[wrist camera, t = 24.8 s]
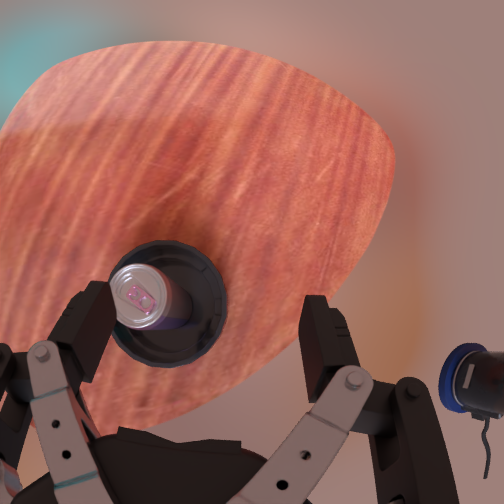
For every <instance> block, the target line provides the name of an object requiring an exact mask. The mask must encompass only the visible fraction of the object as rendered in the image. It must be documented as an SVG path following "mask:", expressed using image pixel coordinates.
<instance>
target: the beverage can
mask: <svg viewBox="0 0 504 504" xmlns="http://www.w3.org/2000/svg"><path fill="white" fill-rule="evenodd" d="M110 287H111V291H112V295H113V299H114V303H115V306H116V310H117V320H118V321H119V322H121V323H122V324H124V325H125V326H127V327H129V328H131V329H135V330H167V329H176V328H179V327H181V326H183V325H184V324H185V323H186V322H187V321H188V319H189V318H190V316H191V313H192V301H191V298H190V296H189V294H188V293H187V291H186V290H185V289H183V288H182V287H181V286H179V285H178V284H177V283H175V282H174V281H173V280H172V279H170V278H169V277H168V276H166V275H165V274H164V273H162V272H161V271H160V270H159V269H157V268H155V267H153V266H151V265H148V264H130V265H127V266H125V267H123V268H122V269H120V270H119V271H118V272H117V273H116V274H115V275H114V276H113V278H112V280H111V282H110Z"/></svg>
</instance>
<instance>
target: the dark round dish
mask: <svg viewBox="0 0 504 504" xmlns="http://www.w3.org/2000/svg"><path fill="white" fill-rule="evenodd" d="M130 264H148V265H151V266H153V267H155V268H157V269H159V270H160V271H161V272H162V273H164V274H165V275H166V276H168V277H169V278H170V279H172V280H173V281H174V282H175V283H177V284H178V285H179V286H181V287H182V288H183V289H185V290H186V291H187V293H188V294H189V296H190V298H191V301H192V313H191V316H190V318H189V319H188V321H187V322H186V323H185V324H184V325H183V326H181V327H179V328H176V329H167V330H135V329H131V328H129V327H127V326H125V325H124V324H122V323H121V322H119V321H118V320H117V319H116V324H115V326H114V328H113V331H112V333H111V334H112V336H113V338H114V339H115V341H116V343H117V344H118V346H119V347H120V348H121V349H122V350H124V351H125V352H126V353H127V354H128V355H129V356H130V357H131V358H133V359H134V360H137V361H139V362H141V363H144V364H146V365H148V366H151V367H160V368H175V367H179V366H182V365H186V364H190V363H192V362H193V361H195V360H196V359H198V358H199V357H201V356H202V355H204V354H205V353H207V352H208V351H209V350H210V349H211V348H212V347H213V345H214V344H215V343H216V341H217V340H218V339H219V338H220V336H221V334H222V332H223V329H224V327H225V324H226V321H227V317H228V297H227V294H226V290H225V287H224V284H223V280H222V277H221V275H220V273H219V272H218V270H217V269H216V268H215V266H214V265H213V263H212V262H211V260H210V259H209V258H208V257H206V256H205V255H204V254H202V253H201V252H200V251H198V250H197V249H196V248H194V247H193V246H190V245H187V244H184V243H181V242H178V241H170V240H157V241H153V242H149V243H146V244H143V245H140V246H138V247H136V248H135V249H133V250H132V251H130V252H129V253H128V254H126V255H125V256H123V257H122V259H121V260H120V261H119V262H118V264H117V265H116V266H115V268H114V269H113V270H112V272H111V274H110V277H109V279H108V283H109V284H110V282H111V280H112V278H113V276H114V275H115V274H116V273H117V272H118V271H119V270H120V269H122V268H123V267H125V266H127V265H130Z"/></svg>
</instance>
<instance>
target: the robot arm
mask: <svg viewBox="0 0 504 504" xmlns="http://www.w3.org/2000/svg"><path fill="white" fill-rule="evenodd" d="M116 319H117V310H116V306H115V303H114V299H113V295H112V291H111V287H110V284H109V283H108V282H103V281H90V283H89V284H88V286H87V287H86V289H85V291H84V292H83V291H80V292H79V293H78V294H76V295H75V296H74V297H73V298H72V299H71V300H70V302H69V303H68V305H67V307H66V309H65V310H64V311H63V313H62V316H60V318H59V320H58V321H57V323H56V325H55V327H54V328H53V330H52V332H51V333H50V335H49V337H48V339H47V340H44V341H39V342H37V343H35V344H34V345H33V346H32V347H31V348H30V349H29V351H28V352H18V353H13V352H12V350H11V349H10V347H9V346H8V345H7V344H4V343H0V401H1V399H2V396H3V394H4V392H5V391H6V392H7V393H8V394H7V396H6V399H5V401H4V404H3V406H2V409H1V412H0V504H312V503H311V502H310V501H309V500H308V499H307V497H308V496H309V494H310V493H311V491H312V490H313V489H314V487H315V486H316V485H317V483H318V482H319V480H320V479H321V478H322V476H323V475H324V473H325V472H326V470H327V469H328V467H329V466H330V464H331V463H332V461H333V459H334V458H335V456H336V455H337V453H338V451H339V450H340V448H341V447H342V445H343V443H344V442H345V440H346V438H347V437H348V435H349V431H354V432H359V433H364V434H368V437H369V443H370V449H371V456H372V462H373V469H374V476H375V484H376V492H377V500H378V504H459V499H458V494H457V490H456V485H455V481H454V476H453V472H452V468H451V464H450V460H449V456H448V452H447V449H446V445H445V441H444V438H443V434H442V431H441V428H440V424H439V421H438V418H437V415H436V411H435V408H434V405H433V402H432V399H431V396H430V393H429V391H428V388H427V387H426V385H425V384H424V383H423V382H422V381H420V380H419V379H417V378H414V377H404V378H402V379H400V380H399V381H398V383H397V384H396V385H395V384H390V383H385V382H380V381H376V380H373V379H372V377H371V375H370V374H369V373H368V372H367V371H366V370H365V369H363V368H361V366H360V363H359V360H358V357H357V354H356V351H355V347H354V344H353V341H352V338H351V337H350V332H349V329H348V326H347V323H346V320H345V317H344V316H343V315H342V314H341V312H340V311H339V310H338V309H337V308H329V306H328V303H327V300H326V297H325V295H306V296H305V299H304V304H303V308H302V313H301V317H300V321H299V330H298V333H299V342H300V348H301V354H302V360H303V367H304V373H305V380H306V387H307V393H308V400H309V403H315V404H314V406H313V407H312V409H311V410H310V411H309V412H306V413H305V415H304V416H303V417H302V418H301V420H300V421H299V422H298V424H297V425H296V426H295V427H294V429H293V430H292V431H291V433H290V434H289V435H288V436H287V438H286V439H285V440H284V441H283V443H282V444H281V445H280V446H279V448H278V449H277V450H276V451H275V452H274V454H273V455H272V456H271V457H270V458H269V459H268V460H267V459H266V458H264V457H263V456H261V455H259V454H257V453H255V452H252V451H250V450H247V449H243V448H241V441H231V440H214V439H208V440H201V441H192V442H184V443H175V442H172V441H169V440H166V439H164V438H161V437H159V436H156V435H154V434H151V433H149V432H146V431H140V430H135V429H130V428H125V427H120V426H119V428H118V432H117V434H110V435H106V436H102V437H101V435H100V433H99V432H98V430H97V428H96V426H95V424H94V422H93V420H92V417H91V415H90V412H89V410H88V407H87V405H86V402H85V400H84V397H83V394H82V392H81V389H80V388H79V387H80V385H81V382H82V381H83V382H87V383H92V380H93V378H94V375H95V372H96V370H97V367H98V365H99V362H100V360H101V357H102V355H103V352H104V350H105V347H106V345H107V343H108V340H109V338H110V335H111V333H112V331H113V328H114V326H115V324H116ZM451 394H452V397H453V399H454V401H455V402H456V403H457V404H458V405H460V406H461V410H464V411H468V412H471V415H472V418H474V419H477V420H481V421H484V420H485V427H484V429H483V431H482V441H483V444H484V446H485V449H486V453H487V460H486V467H485V472H484V479H486V478H487V475H488V470H489V465H490V456H491V453H490V447H489V444H488V442H487V439H486V432H487V430H488V428H489V420H490V417H491V418H495V419H500V418H501V417H502V416H503V415H504V352H487V351H470V352H468V353H466V354H465V355H464V356H463V357H462V358H461V359H460V360H459V362H458V363H457V365H456V367H455V369H454V372H453V375H452V379H451ZM32 416H33V419H34V423H35V427H36V430H37V434H38V437H39V441H40V444H41V447H42V451H43V453H44V457H45V460H46V463H47V466H48V468H49V472H48V473H46V474H45V475H43V476H42V477H40V478H39V479H38V480H36V481H35V482H33V483H32V484H30V485H29V486H27V487H26V488H24V489H23V490H22V484H21V483H20V479H19V475H18V473H17V471H16V470H17V467H18V463H19V459H20V455H21V452H22V448H23V445H24V441H25V438H26V434H27V431H28V428H29V425H30V422H31V419H32Z"/></svg>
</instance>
